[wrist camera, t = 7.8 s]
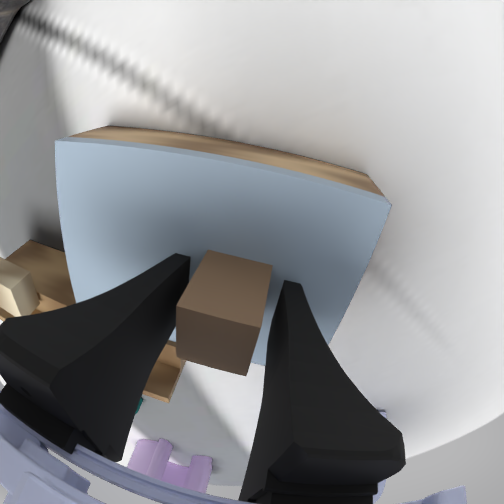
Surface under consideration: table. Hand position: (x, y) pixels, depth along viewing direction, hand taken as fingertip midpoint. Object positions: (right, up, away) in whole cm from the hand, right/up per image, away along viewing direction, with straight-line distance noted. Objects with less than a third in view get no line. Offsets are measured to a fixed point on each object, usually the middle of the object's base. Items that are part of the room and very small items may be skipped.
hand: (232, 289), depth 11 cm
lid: (-2, +2, +2) cm, 3 cm away
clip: (-13, -33, +27) cm, 44 cm away
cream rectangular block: (-14, 0, +3) cm, 15 cm away
